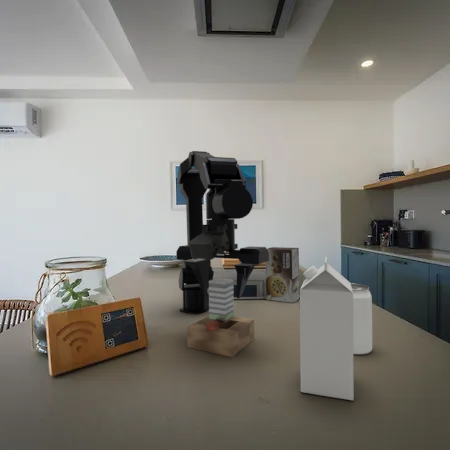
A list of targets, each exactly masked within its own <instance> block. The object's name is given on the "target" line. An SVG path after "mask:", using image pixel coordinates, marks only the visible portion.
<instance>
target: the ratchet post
mask: <svg viewBox="0 0 450 450" xmlns="http://www.w3.org/2000/svg"><path fill="white" fill-rule="evenodd" d="M234 286H235V285H234V279H233V278H222V277H217V278H213V280H210V281H209V288H208V294H209V309H208V312H209V314H208V316H209V318H210V321H218V322H221V323H226V322H228V321H230V320H231V319H233V318H234V317H235V311H234V310H235V306H234V304H235V301H234V298H235V296H234V294H235V291H234V288H235V287H234Z"/></svg>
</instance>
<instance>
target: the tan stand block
mask: <svg viewBox="0 0 450 450" xmlns="http://www.w3.org/2000/svg"><path fill="white" fill-rule="evenodd" d="M186 329H187V348H189V349H195V350H198V351H199V350H200V351H202V352H203V351H204V352H207V353H211V354H217V355H221V356H225V357H230V358H234V357H235V356H236V355H237V354H238V353H239V352H241V350H244V348H245V347H246V346H248V345H249V344H250V343H252V341H253V340H255V319H253V318H246V317H238V316H234V318H233V319H231V320H230V321H228V322H226V323H221V322H218V321H210V318H209V315H208V316H206V317H203V318H202V319H200V320H198V321H195V322H194V323H192V324H191V325H188V326H187V328H186Z"/></svg>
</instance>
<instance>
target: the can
mask: <svg viewBox="0 0 450 450" xmlns="http://www.w3.org/2000/svg"><path fill="white" fill-rule="evenodd" d="M350 284H351V287H352V291H353V356H354V355H356V356H362V355H368V354H370V353H371V352H372V351H373V299H372V293H371V291H370V290H369V289H370V287H369V286H367V285H366V284H360V283H350Z"/></svg>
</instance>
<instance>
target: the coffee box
mask: <svg viewBox="0 0 450 450" xmlns="http://www.w3.org/2000/svg"><path fill="white" fill-rule="evenodd" d="M266 249H267V250H268V252H269V261H267V262H264V264H265V265H264V266H265V267H264V268H265V300H266V299H267V301H275V302H282V303H283V302H284V303H291V304H294V303H295V302H298V300H300V299H299V298H300V263H299V262H300V261H299V260H300V257H299V255H300V254H299V253H300V252H299V249H300V248H299V247H282V246H281V247H279V246H278V247H277V246H276V247H275V246H272V247H268V248H266Z"/></svg>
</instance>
